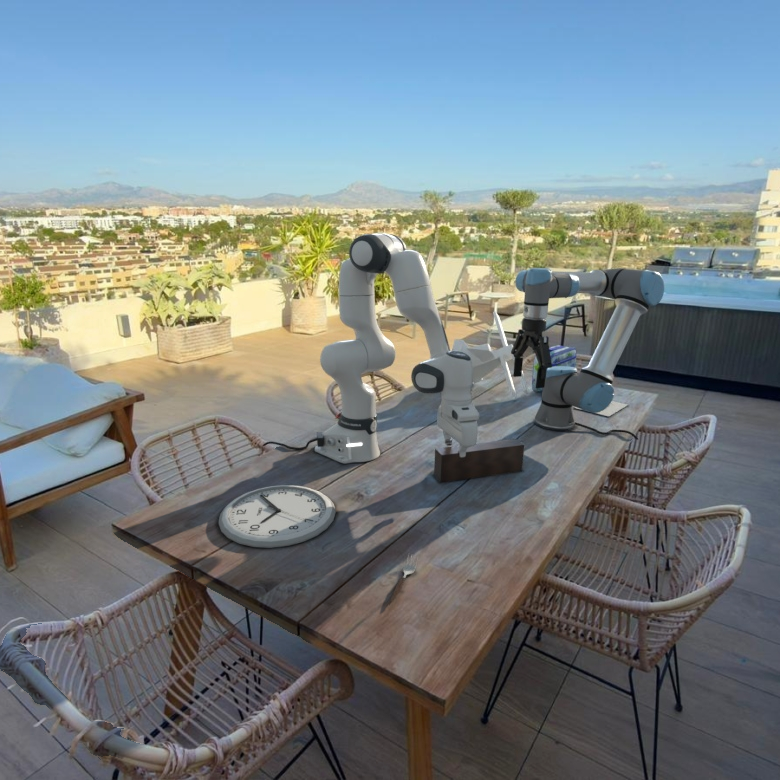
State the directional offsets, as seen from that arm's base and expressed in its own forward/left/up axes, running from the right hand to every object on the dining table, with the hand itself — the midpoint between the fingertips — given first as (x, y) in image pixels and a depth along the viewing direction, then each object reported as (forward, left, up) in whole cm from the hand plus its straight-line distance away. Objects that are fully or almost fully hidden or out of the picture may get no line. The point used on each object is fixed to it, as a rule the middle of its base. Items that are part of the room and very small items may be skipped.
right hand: (528, 381), depth 173 cm
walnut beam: (+16, +20, -25) cm, 35 cm away
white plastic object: (+12, -65, -25) cm, 70 cm away
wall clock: (+69, +53, -25) cm, 90 cm away
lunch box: (-23, -74, -25) cm, 81 cm away
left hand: (+23, +24, -16) cm, 37 cm away
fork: (+34, +76, -25) cm, 87 cm away
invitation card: (-40, -53, -25) cm, 71 cm away
